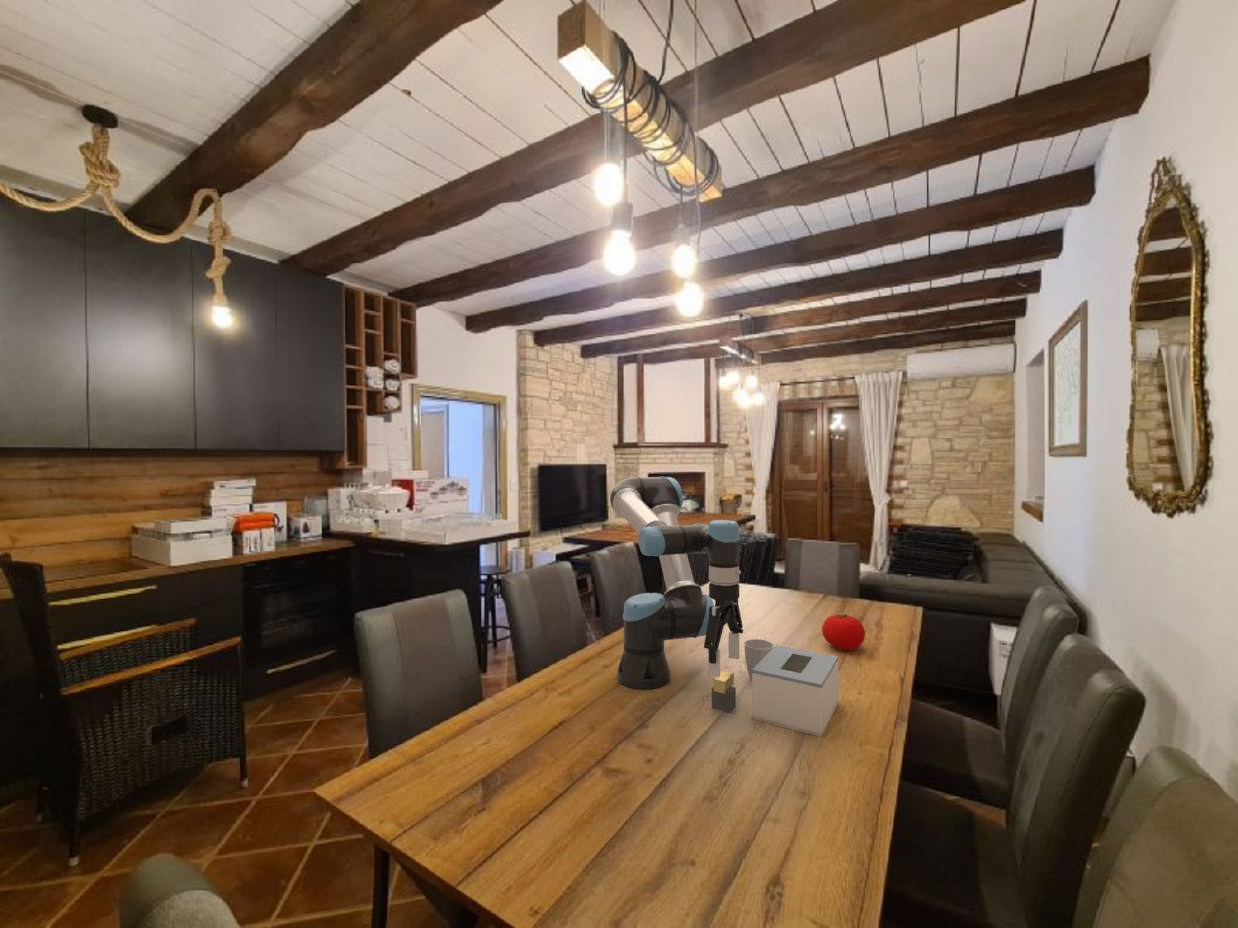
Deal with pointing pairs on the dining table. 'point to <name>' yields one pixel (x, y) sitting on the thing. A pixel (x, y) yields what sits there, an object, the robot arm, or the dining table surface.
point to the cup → (756, 652)
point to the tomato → (843, 632)
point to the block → (724, 700)
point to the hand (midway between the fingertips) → (724, 666)
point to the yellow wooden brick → (723, 682)
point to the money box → (795, 689)
